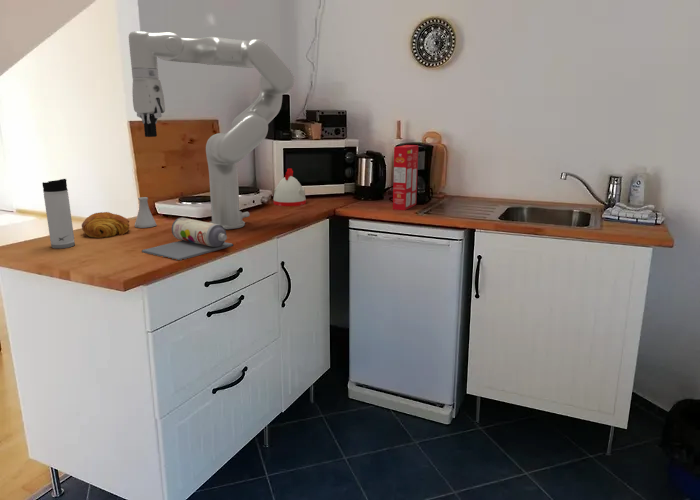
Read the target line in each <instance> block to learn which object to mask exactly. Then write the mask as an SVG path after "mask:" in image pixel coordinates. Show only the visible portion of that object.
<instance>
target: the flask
mask: <svg viewBox="0 0 700 500" xmlns="http://www.w3.org/2000/svg"><path fill="white" fill-rule="evenodd" d="M148 200H149V197H146V196H144V197H138V201H139V202H138V203H139V205H138V211H137V214H136V215H137V216H136V218H135V223H134V227H135V228H141V229H144V228H145V229H146V228H153V227H157V225H158V224H157V223H156V220H155V218H154V216H153V214H152V213H151V210H150V207H149V203H148Z"/></svg>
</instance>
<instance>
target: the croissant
mask: <svg viewBox="0 0 700 500" xmlns="http://www.w3.org/2000/svg"><path fill="white" fill-rule="evenodd" d="M81 229H82V231H83V232H84V234H85V235H86V236H88V237H90V238H97V239H98V238H99V239H102V238H103V239H104V238H107V237H108V238H109V237H115V236H123V235H124V234H127V233H128V231H129V230H130V220H129V219H128V218H126V217H125V216H122V215H120V214H117V213H116V214H115V213H113V212H109V211H104V212H103V211H102V212H95V213H92V214H90V215H88V217H86V218H85V219H84V220H83V222H82V223H81Z"/></svg>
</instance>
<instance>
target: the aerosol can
mask: <svg viewBox="0 0 700 500" xmlns="http://www.w3.org/2000/svg"><path fill="white" fill-rule="evenodd" d="M171 233H172V236H173V237H174V238H175V239H177V240H179V241H181V240H184V241H188V242H193V243H197V244H202V245H206V246H210V247H220V246H221V245H222V244H223V243H224V242H226V240H227V239H228V236H227V231H226V229H224V227H223V226H221V225H219V224H214V223H209V222H208V221H202V220H197V219H193V218H192V219H191V218H186V217H182V216H181V217H178V218H176V219H175V220H174V221H173V223H172V225H171Z"/></svg>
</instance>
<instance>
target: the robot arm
mask: <svg viewBox="0 0 700 500" xmlns="http://www.w3.org/2000/svg"><path fill="white" fill-rule="evenodd" d="M128 45H129V56H130V66H131V77H132V91H131V92H132V93H131V94H132V106H133V110H134V112H135V113H136V117H137V118H140V119H141V122H142V124H143V131H144V137H145V138H156V137H158V136H157V135H158V133H157V123H158V120H159V119H160V118H162V114H164V113H165V111H166V104H165V98H164V97H165V96H164V91H163V87H162V83H161V80H159V78H160V77H159V67H158V58H159V59H160V60H162V61H167V62H175V63H176V62H177V63H178V62H179V63H186V64H187V63H188V64H201V65H207V66H208V65H211V66H222V67H224V66H225V67H235V68H243V69H244V68H245V69H256V70H257V71H258V73H259V74H260V77H259V94H258V97H257V98H255V100H254V101H253V102H252V103H251V104H250V105H249V106H248V107H247V108H246V109H244V110H243V111H241V113H239V114H238V115H237V116H235V117H234V119H233V120H232V122H231V129H230V130H229V131H227V132H226V133H223V132H218V133H216V134H213V135H211V136H210V137H209V138H208V139H207V141H206V144H205V154H206V162H207V166H208V167H207V168H208V177H209V193H210V194H209V195H210V209H211V210H210V211H211V221H209V222H208V223H214V224H219V225H221V226H223V227H224V229H225V230H233V229H240V228H243V227H244V226H246V222H245V221H244V220H243V219H245V218H248V217H250V212H249V211H243V212H242V211H241V210H240V196H239V195H240V193H239V173H238V166H237V163H240V162H241V161H242V160H244V158H246V157H247V156H248V155H249V154H250V153H251V152H252V151H253V150H255V149H256V148H257V147H258V146H259V145H260V144H261V143H262V142H264V140H265V139H266V137H267V135H268V131H269V124H270V123H271V122H272V121H273V120H274V118H275V117H277V115H278V114H279V113H280V110H281V108H282V105H283V104H282V103H283V94H288V93H289V92H290V91H291V90H292V89H293V87H294V85H295V78H294V77H295V76H294V75H293V73H292V71H291V69H290V67H288V65H286V63H285V62H284V61H283V60H282V59H281V58H280V56H279V55H278V54H277V53H276V52H275V51H274V49H273V48H272V47H271V46H270V45H269V44H268V43H266V42H265V41H264V40H262V39H259V38H254V39H253V38H252V39H250V40H245V39H237V38H236V39H234V38H225V37H219V36H207V37H200V38H188V37H187V38H185V37H181V36H180V35H178V34H177V33H175V32H171V31H165V32H150V31H141V30H139V31H138V30H137V31H131V32H130V33H129V34H128Z"/></svg>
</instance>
